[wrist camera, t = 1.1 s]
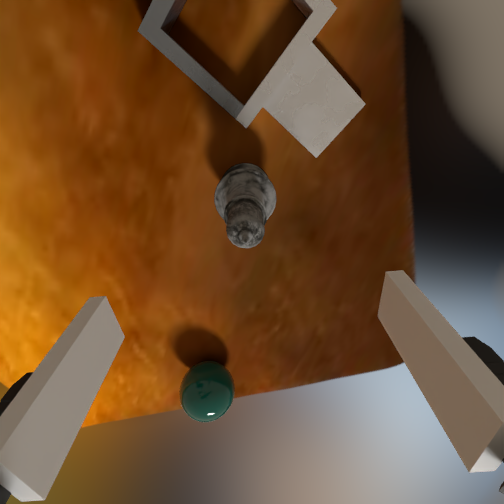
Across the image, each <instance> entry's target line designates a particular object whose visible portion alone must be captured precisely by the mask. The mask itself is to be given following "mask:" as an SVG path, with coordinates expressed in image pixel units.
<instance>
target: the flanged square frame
mask: <svg viewBox="0 0 504 504" xmlns="http://www.w3.org/2000/svg"><path fill="white" fill-rule="evenodd" d="M186 1H187V0H152V3H151V5H150V7H149V9H148V11H147V13H146V15H145V17H144V19H143V21H142V23H141V25H140V27H139V29H138V32H139V33H141V34H142V35H143V36H144V37H145V38H146V39H147V40H148V41H149V42H151V43H152V44H153V45H154V46H155V47H156V48H157V49H158V50H159V51H161V52H162V53H163V54H164V55H165V56H166V57H167V58H168V59H170V60H171V61H172V62H173V63H174V64H175V65H176V66H177V67H178V68H180V69H181V70H182V71H183V72H184V73H185V74H186V75H187V76H188V77H190V78H191V79H192V80H193V81H194V82H195V83H196V84H197V85H198V86H200V87H201V88H202V89H203V90H204V91H205V92H206V93H207V94H208V95H210V96H211V97H212V98H213V99H214V100H215V101H216V102H217V103H218V104H220V105H221V106H222V107H223V108H224V109H225V110H226V111H227V112H228V113H230V114H231V115H232V116H233V117H234V118H235V119H236V120H237V121H238V122H240V123H241V124H242V125H243V126H244V127H245V128H247V127H248V126H249V124H250V123H251V122H252V120H253V119H254V118H255V116H256V115H257V114H258V112H259V111H260V110H261V108H262V107H264V108H265V109H266V110H267V111H268V112H269V113H270V114H271V115H272V116H273V117H274V118H275V119H276V120H277V121H278V122H279V123H280V124H281V125H283V126H284V127H285V128H286V129H287V130H288V131H289V132H290V133H291V134H292V135H293V136H294V137H295V138H296V139H297V140H298V141H299V142H300V143H301V144H302V145H303V146H304V147H305V148H306V149H308V150H309V151H310V152H311V153H312V154H313V155H314V156H315V157H316V158H317V157H318V156H319V154H320V153H321V152H322V151H323V150H324V149H325V148H326V147H327V146H328V145H329V144H330V142H331V141H332V140H333V139H334V138H335V137H336V136H337V135H338V134H339V133H340V132H341V130H342V129H343V128H344V127H345V126H346V125H347V124H348V123H349V122H350V121H351V119H352V118H353V117H354V116H355V115H356V114H357V113H358V112H359V111H360V110H361V109H362V107H363V106H364V105H365V103H364V102H363V101H362V99H361V98H360V97H359V96H358V95H357V94H356V92H355V91H354V90H353V89H352V88H351V87H350V86H349V84H348V83H347V82H346V81H345V80H344V79H343V77H342V76H341V75H340V74H339V73H338V72H337V70H336V69H335V68H334V67H333V66H332V65H331V64H330V62H329V61H328V60H327V59H326V58H325V57H324V55H323V54H322V53H321V52H320V51H319V50H318V48H317V47H316V46H315V45H314V44H313V43H312V41H313V39H314V38H315V37H316V35H317V34H318V33H319V31H320V30H321V29H322V28H323V26H324V25H325V24H326V22H327V21H328V20H329V18H330V17H331V16H332V14H333V13H334V12H335V10H336V9H337V8H336V7H335V5H334V4H333V3H332V1H331V0H291V1H292V2H293V3H294V4H295V5H296V6H297V8H298V9H299V10H300V11H301V12H302V14H303V15H304V16H305V17H306V18H307V19H306V21H305V22H304V24H303V25H302V26H301V28H300V29H299V30H298V32H297V33H296V35H295V36H294V37H293V39H292V40H291V41H290V43H289V44H288V46H287V47H286V48H285V50H284V51H283V53H282V54H281V55H280V57H279V58H278V59H277V61H276V62H275V64H274V65H273V66H272V68H271V69H270V71H269V72H268V73H267V75H266V76H265V77H264V79H263V80H262V82H261V83H260V84H259V86H258V87H257V88H256V90H255V91H254V93H253V94H252V95H251V97H250V98H249V100H248V101H247V102H246V104H245V105H244V104H243V103H241V102H240V101H239V100H238V99H237V98H236V97H235V96H234V95H233V94H232V93H231V92H230V91H229V90H228V89H226V88H225V87H224V86H223V85H222V84H221V83H220V82H219V81H218V80H217V79H216V78H215V77H214V76H213V75H211V74H210V73H209V72H208V71H207V70H206V69H205V68H204V67H203V66H202V65H201V64H200V63H199V62H198V61H196V60H195V59H194V58H193V57H192V56H191V55H190V54H189V53H188V52H187V51H186V50H185V49H184V48H183V47H181V46H180V45H179V44H178V43H177V42H176V41H175V40H174V39H173V38H172V37H171V36H170V35H169V32H170V30H171V29H172V27H173V25H174V23H175V21H176V19H177V18H178V16H179V14H180V12H181V10H182V8H183V6H184V5H185V3H186Z"/></svg>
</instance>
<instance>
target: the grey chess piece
mask: <svg viewBox="0 0 504 504" xmlns="http://www.w3.org/2000/svg"><path fill="white" fill-rule="evenodd" d="M214 201H215V205H216V209H217V211H218V213H219V215H220V216H221V217H222V218H223V219H224V220H225V223H226V225H227V228H226V231H227V235H228V238H229V239H230V241H231V242H232V243H233V244H234V245H236V246H238V247H241V248H251V247H254V246H256V245H257V244H259V243H260V241H261V240H262V238H263V236H264V232H265V229H264V225H265V223H266V221H267V219H268V218H269V217H270V216H271V214H272V212H273V210H274V208H275V204H276V192H275V189H274V187H273V184H272V183H271V181H270V180H269V179H268V177H267V175H266V174H265V172H264V171H263V170H262V169H261V168H259V167H258V166H256V165H253V164H248V163H242V164H237V165H235V166H233V167H231V168H230V169H229V170H227V171H226V173H225V174H224V176H223V178H222V179H221V181H220V182H219V184H218V185H217V188H216V191H215V199H214Z"/></svg>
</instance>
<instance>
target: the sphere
mask: <svg viewBox="0 0 504 504" xmlns="http://www.w3.org/2000/svg"><path fill="white" fill-rule="evenodd" d="M234 390H235V386H234V380H233V378H232V376H231V374H230V372H229V370H228V369H227V368H225V367H224V366H223V365H222V364H220V363H218V362H214V361H204V362H200V363H198V364H196V365H194V366H193V367H192V368H191V369H190V370H189V371H187V373H186V374H185V376H184V378H183V380H182V382H181V385H180V391H179V392H180V402H181V405H182V408H183V409H184V411H185V412H186V414H187V415H188V416H190V417H191V418H192V419H194V420H197V421H199V422H211V421H214V420H216V419H218V418H220V417H221V416H223V415H224V414H225V413H226V412H227V410H228V409H229V407H230V406H231V404H232V402H233V398H234Z"/></svg>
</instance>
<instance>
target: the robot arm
mask: <svg viewBox="0 0 504 504" xmlns="http://www.w3.org/2000/svg"><path fill="white" fill-rule="evenodd" d="M378 318H379V320H380V321H381V323H382V325H383V326H384V328H385V330H386V331H387V333H388V335H389V337H390V338H391V340H392V342H393V343H394V345H395V347H396V349H397V350H398V352H399V354H400V355H401V357H402V359H403V361H404V362H405V364H406V366H407V367H408V369H409V371H410V372H411V374H412V376H413V378H414V379H415V381H416V383H417V384H418V386H419V388H420V390H421V391H422V393H423V395H424V396H425V398H426V400H427V402H428V403H429V405H430V407H431V408H432V410H433V412H434V413H435V415H436V417H437V419H438V420H439V422H440V424H441V425H442V427H443V429H444V431H445V432H446V434H447V436H448V437H449V439H450V441H451V442H452V444H453V446H454V448H455V449H456V451H457V453H458V454H459V456H460V458H461V460H462V461H463V463H464V465H465V466H466V468H467V470H468V471H469V472H483V471H495V470H496V469H497V467H498V466H499V465H500V464H501V462H502V461H503V462H504V361H503V360H502V359H501V358H500V357H499V356H498V355H497V354H496V353H495V352H494V350H493V349H492V348H490V347H489V346H488V345H486V344H485V343H482V342H481V341H480V340H478V339H477V338H475V337H464V338H462V337H461V336H460V335H459V334H458V333H457V332H456V330H455V329H454V328H453V327H452V326H451V325H450V324H449V322H448V321H447V320H446V319H445V318H444V317H443V316H442V315H441V313H440V312H439V311H438V310H437V309H436V308H435V307H434V305H433V304H432V303H431V302H430V301H429V300H428V299H427V297H426V296H425V295H424V294H423V293H422V292H421V291H420V289H419V288H418V287H417V286H416V285H415V284H414V283H413V281H412V280H411V279H410V278H409V277H408V276H407V275H406V273H405V272H404V271H403V270H401V271H390V272H386V274H385V280H384V285H383V290H382V295H381V301H380V306H379V311H378ZM124 337H125V336H124V334H123V332H122V330H121V328H120V326H119V324H118V321H117V319H116V317H115V315H114V313H113V311H112V309H111V306H110V304H109V302H108V300H107V298H106V296H101V297H90V298H89V299H88V301H87V302H86V303H85V305H84V306H83V307H82V309H81V310H80V311H79V313H78V314H77V315H76V316H75V318H74V319H73V320H72V322H71V323H70V324H69V326H68V327H67V328H66V330H65V331H64V332H63V334H62V335H61V336H60V338H59V339H58V340H57V342H56V343H55V344H54V346H53V347H52V348H51V350H50V351H49V352H48V354H47V355H46V356H45V358H44V359H43V360H42V362H41V363H40V364H39V366H38V367H37V368H36V370H35V371H34V372H30V373H26V374H25V375H24V376H23V377H22V378H20V379H19V380H18V381H17V382H16V383H15V384H13V385H12V386H11V388H10V389H9V390H8V391H7V393H6V394H5V395H4V397H3V398H2V399H1V402H0V504H6V502H7V500H8V499H9V497H10V495H11V494H12V495H13V496H15V497H16V498H17V499H18V500H20V501H21V502H22V501H37V500H45V499H46V497H47V494H48V493H49V490H50V488H51V486H52V484H53V482H54V480H55V478H56V476H57V474H58V472H59V470H60V468H61V466H62V464H63V462H64V460H65V458H66V456H67V454H68V451H69V450H70V448H71V446H72V444H73V441H74V439H75V437H76V435H77V433H78V431H79V429H80V427H81V425H82V423H83V421H84V419H85V417H86V415H87V413H88V411H89V409H90V407H91V405H92V403H93V401H94V399H95V397H96V395H97V393H98V390H99V388H100V386H101V384H102V382H103V380H104V378H105V376H106V374H107V372H108V370H109V368H110V366H111V364H112V362H113V360H114V358H115V356H116V354H117V352H118V350H119V348H120V346H121V344H122V342H123V339H124ZM499 492H501V493H503V494H504V482H503V483H502V484H501V487H500V489H499Z"/></svg>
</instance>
